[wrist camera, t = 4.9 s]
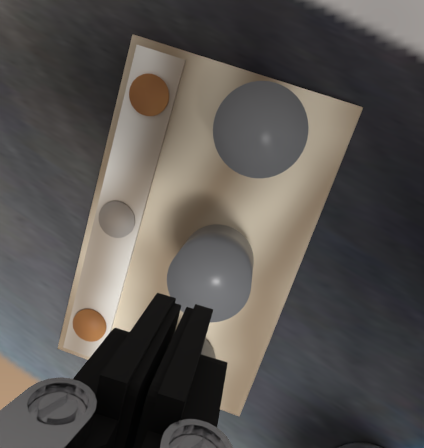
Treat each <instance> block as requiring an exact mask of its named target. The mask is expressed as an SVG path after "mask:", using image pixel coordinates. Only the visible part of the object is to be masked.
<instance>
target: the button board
mask: <svg viewBox="0 0 424 448" xmlns="http://www.w3.org/2000/svg"><path fill="white" fill-rule="evenodd" d="M254 81H271V82H275V83H278V84H280V85H283V86H284V87H286V88H288V89H289V90H290V91H292V92H293V93H294V94H295V95H296V96H297V97H298V99H299V100H300V101H301V103H302V105H303V107H304V109H305V111H306V114H307V118H308V126H309V128H308V138H307V142H306V145H305V148H304V150H303V152H302V154H301V155H300V157H299V158H298V160H297V161H296V162H295V163H294V164H293V165H292V166H291V167H290V168H288V169H287V170H286V171H284V172H282V173H280V174H278V175H276V176H272V177H269V178H250V177H246V176H243V175H241V174H238V173H237V172H235V171H233V170H232V169H231V168H229V167H228V166H227V165H226V164H225V163H224V161H223V160H222V159H221V157H220V156H219V154H218V152H217V149H216V147H215V143H214V139H213V123H214V118H215V115H216V112H217V110H218V108H219V106H220V104H221V103H222V101H223V100H224V99H225V98H226V97H227V95H228V94H230V93H231V92H232V91H233V90H235V89H236V88H238V87H239V86H242V85H244V84H246V83H249V82H254ZM362 109H363V107H360V106H357V105H354V104H351V103H348V102H344V101H341V100H338V99H335V98H332V97H329V96H326V95H322V94H319V93H316V92H313V91H310V90H307V89H303V88H300V87H297V86H294V85H291V84H288V83H285V82H281V81H278V80H275V79H272V78H269V77H266V76H263V75H259V74H256V73H253V72H250V71H247V70H244V69H240V68H237V67H234V66H231V65H228V64H225V63H222V62H218V61H215V60H212V59H209V58H206V57H203V56H200V55H196V54H193V53H190V52H187V51H184V50H181V49H177V48H174V47H171V46H168V45H165V44H162V43H159V42H155V41H152V40H149V39H146V38H143V37H140V36H137V35H133V34H132V39H131V43H130V47H129V51H128V55H127V60H126V64H125V68H124V72H123V76H122V80H121V85H120V89H119V93H118V97H117V101H116V106H115V110H114V114H113V118H112V122H111V127H110V131H109V135H108V139H107V143H106V148H105V152H104V156H103V160H102V164H101V169H100V173H99V177H98V181H97V185H96V189H95V194H94V198H93V202H92V206H91V210H90V215H89V219H88V223H87V227H86V231H85V236H84V240H83V244H82V248H81V252H80V257H79V261H78V265H77V269H76V273H75V278H74V282H73V286H72V290H71V294H70V298H69V303H68V307H67V311H66V315H65V319H64V324H63V328H62V332H61V336H60V340H59V345H58V349H60V350H63V351H66V352H68V353H71V354H74V355H76V356H79V357H82V358H84V359H87V360H89V358H90V357H91V356H92V355H93V353H94V352H95V351H96V349H97V348H98V347H99V346H100V344H101V343H102V342H103V341H104V339H105V338H106V337H107V336H108V334H109V333H110V332H111V331H112V330H113V329H114V328H118V329H121V330H125V331H128V332H130V331H131V330H132V328H133V327H134V325H135V324H136V322H137V321H138V320H139V318H140V317H141V315H142V314H143V312H144V311H145V309H146V308H147V307H148V305H149V304H150V302H151V301H152V299H153V298H154V296H155V295H156V294H157V293H160V294H164V295H167V296H170V294H169V291H168V287H167V273H168V269H169V266H170V264H171V262H172V260H173V259H174V257H175V256H176V255H177V253H178V252H179V251H180V249H181V248H182V247H183V245H184V244H185V243H186V241H187V240H188V239H189V237H190V236H191V235H192V234H193V233H194V232H195V231H197V230H198V229H200V228H202V227H205V226H208V225H214V224H220V225H226V226H229V227H232V228H234V229H236V230H237V231H239V232H240V233H241V234H242V235H243V236H244V237H245V238H246V239H247V240H248V242H249V244H250V246H251V248H252V251H253V256H254V264H253V274H252V284H251V292H250V295H249V298H248V301H247V303H246V304H245V306H244V307H243V308H242V309H241V311H239V312H238V313H237V314H236V315H234V316H233V317H231V318H229V319H227V320H224V321H220V322H210V324H209V327H208V331H207V334H206V338H205V339H206V340H207V341H208V342H209V343H210V345H211V346H212V348H213V350H214V353H215V357H216V359H218V360H222V361H225V362H227V363H228V364H227V370H226V376H225V382H224V388H223V394H222V400H221V406H220V409H221V410H223V411H226V412H229V413H231V414H234V415H237V416H240V413H241V411H242V408H243V406H244V403H245V401H246V398H247V396H248V393H249V391H250V389H251V386H252V384H253V381H254V379H255V376H256V374H257V371H258V369H259V366H260V364H261V361H262V359H263V356H264V354H265V351H266V349H267V346H268V344H269V341H270V339H271V336H272V334H273V331H274V329H275V326H276V324H277V321H278V319H279V316H280V314H281V311H282V309H283V306H284V304H285V301H286V299H287V296H288V294H289V291H290V289H291V286H292V284H293V281H294V279H295V276H296V274H297V271H298V269H299V266H300V264H301V261H302V259H303V256H304V254H305V251H306V249H307V246H308V244H309V241H310V239H311V236H312V234H313V231H314V229H315V226H316V224H317V221H318V219H319V216H320V214H321V211H322V209H323V206H324V204H325V201H326V199H327V196H328V194H329V191H330V189H331V186H332V184H333V181H334V179H335V176H336V174H337V171H338V169H339V166H340V164H341V161H342V159H343V156H344V154H345V152H346V149H347V147H348V144H349V142H350V139H351V137H352V134H353V132H354V129H355V127H356V124H357V122H358V119H359V117H360V114H361V112H362ZM183 314H184V313H183V312H182V311H181V310H180V313H179V317H178V321H177V325H176V329H177V326H178V324H179V322H180V320H181V318H182V316H183ZM176 329H175V330H176Z"/></svg>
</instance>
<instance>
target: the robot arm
mask: <svg viewBox="0 0 424 448" xmlns="http://www.w3.org/2000/svg"><path fill="white" fill-rule="evenodd" d="M175 301H176V298H174V297H170V296H167V295H164V294H160V293H157V294H156V295H155V296H154V298H153V299H152V301H151V302H150V304H149V305H148V307H147V308H146V309H145V311H144V312H143V314H142V315H141V317H140V318H139V320H138V321H137V322H136V324H135V325H134V327H133V328H132V330H131V331H130V332H128V331H125V330H121V329H118V328H114V329H113V330H112V331H111V332H110V333H109V334H108V336H107V337H106V338H105V339H104V341H103V342H102V343H101V344H100V346H99V347H98V348H97V349H96V351H95V352H94V353H93V355H92V356H91V357H90V358H89V360H88V361H87V362H86V363H85V365H84V366H83V367H82V368H81V370H80V371H79V372H78V373H77V375H76V376H75V377H74V379H70V378H52V379H47V380H43V381H40V382H38V383H36V384H34V385H33V386H31V387H29V388H28V389H27V390H25V391H24V392H23V393H22V394H20V395H19V396H18V397H17V398H15V399H14V400H13V401H12V402H10V403H9V404H8V405H7V406H5V407H4V408H3V409H2V410H0V448H233V446H232V444H231V443H230V441H229V439H228V438H227V436H226V435H225V434H224V433H223V432H222V431H221V430H220V429H218V428H217V424H218V418H219V412H220V406H221V400H222V394H223V388H224V382H225V376H226V370H227V364H228V363H227V362H225V361H222V360H218V359H215V358H212V357H209V356H205V355H202V354H201V352H202V349H203V345H204V342H205V338H206V334H207V331H208V327H209V324H210V320H211V317H212V313H213V309H211V308H207V307H204V306H201V305H197V304H195V306H194V308H189V307H186V309H185V311H184V314H183V316H182V318H181V320H180V322H179V324H178V326H177V329H176V325H177V321H178V317H179V313H180V309H181V305H179V304H176V303H175ZM175 329H176V331H175Z"/></svg>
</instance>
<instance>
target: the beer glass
mask: <svg viewBox="0 0 424 448" xmlns="http://www.w3.org/2000/svg"><path fill="white" fill-rule="evenodd" d="M338 448H382V447H380V446H377V445H374V444H370V443H349V444H345V445H342V446H340V447H338Z"/></svg>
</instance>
